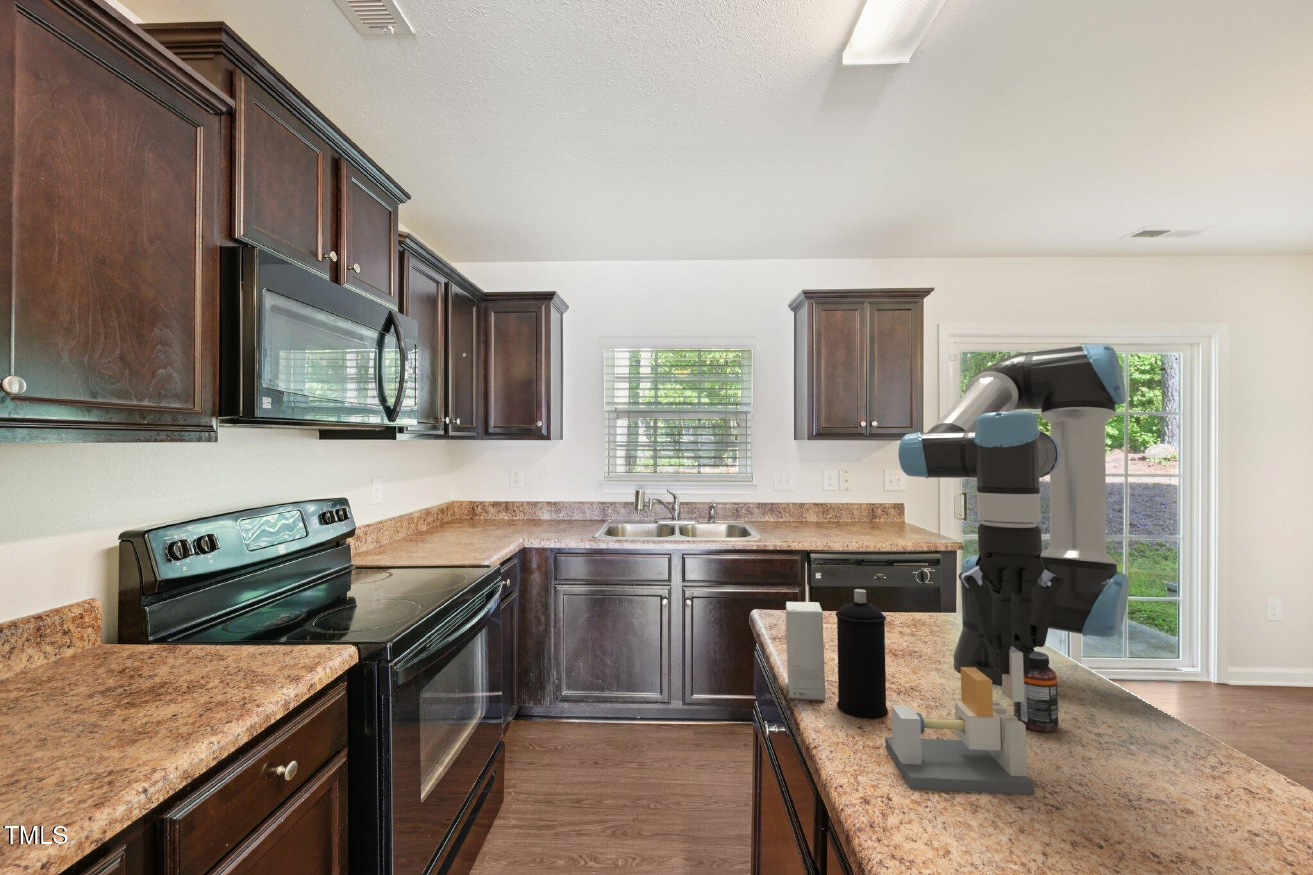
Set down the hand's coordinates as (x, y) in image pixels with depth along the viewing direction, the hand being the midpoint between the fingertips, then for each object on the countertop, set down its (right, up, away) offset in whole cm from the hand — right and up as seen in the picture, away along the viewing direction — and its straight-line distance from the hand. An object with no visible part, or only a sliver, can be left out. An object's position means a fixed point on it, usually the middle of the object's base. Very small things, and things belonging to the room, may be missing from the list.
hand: (1013, 697), depth 80 cm
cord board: (-8, -10, 0) cm, 13 cm away
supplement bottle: (+12, -11, +14) cm, 21 cm away
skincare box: (-21, -11, +28) cm, 37 cm away
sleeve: (-5, -6, 0) cm, 8 cm away
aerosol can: (-14, -11, +20) cm, 27 cm away
